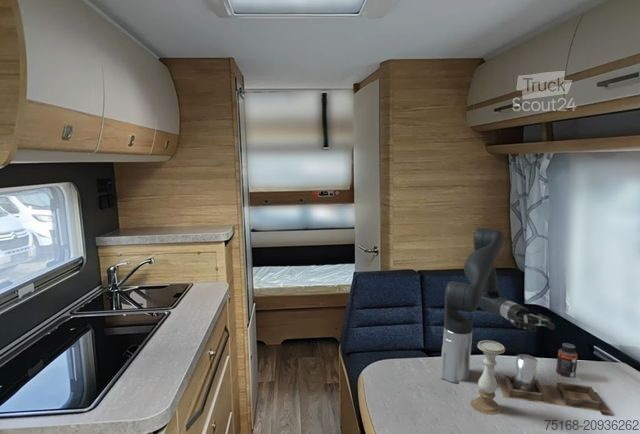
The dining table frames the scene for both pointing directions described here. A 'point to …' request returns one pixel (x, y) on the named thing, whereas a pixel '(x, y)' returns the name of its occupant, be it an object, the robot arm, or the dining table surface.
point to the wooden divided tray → (556, 395)
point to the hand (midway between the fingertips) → (544, 328)
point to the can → (525, 373)
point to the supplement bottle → (567, 360)
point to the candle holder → (488, 379)
